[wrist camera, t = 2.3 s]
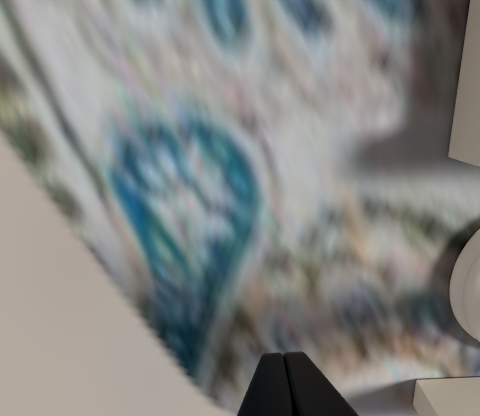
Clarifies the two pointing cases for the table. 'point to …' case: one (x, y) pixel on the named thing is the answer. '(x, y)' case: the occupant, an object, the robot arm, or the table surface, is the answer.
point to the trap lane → (476, 153)
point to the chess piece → (467, 287)
